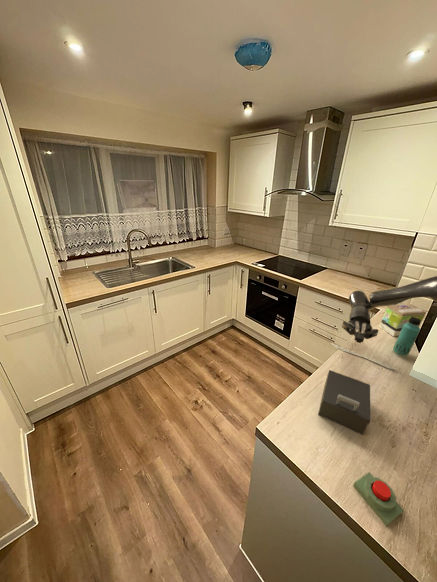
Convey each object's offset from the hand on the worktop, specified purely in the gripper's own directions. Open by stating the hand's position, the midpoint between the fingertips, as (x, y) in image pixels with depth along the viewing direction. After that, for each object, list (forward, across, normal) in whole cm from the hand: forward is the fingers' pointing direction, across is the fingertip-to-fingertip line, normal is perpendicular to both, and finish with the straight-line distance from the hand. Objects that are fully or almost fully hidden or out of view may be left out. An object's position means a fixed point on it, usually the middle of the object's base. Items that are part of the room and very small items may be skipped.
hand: (359, 340), depth 86 cm
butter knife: (-22, +5, +23) cm, 32 cm away
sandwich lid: (+14, 0, +15) cm, 20 cm away
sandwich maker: (+14, 0, +21) cm, 25 cm away
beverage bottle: (-34, +22, +24) cm, 47 cm away
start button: (+39, +9, +17) cm, 44 cm away
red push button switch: (+39, +9, +20) cm, 45 cm away
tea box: (-58, +24, +25) cm, 67 cm away
